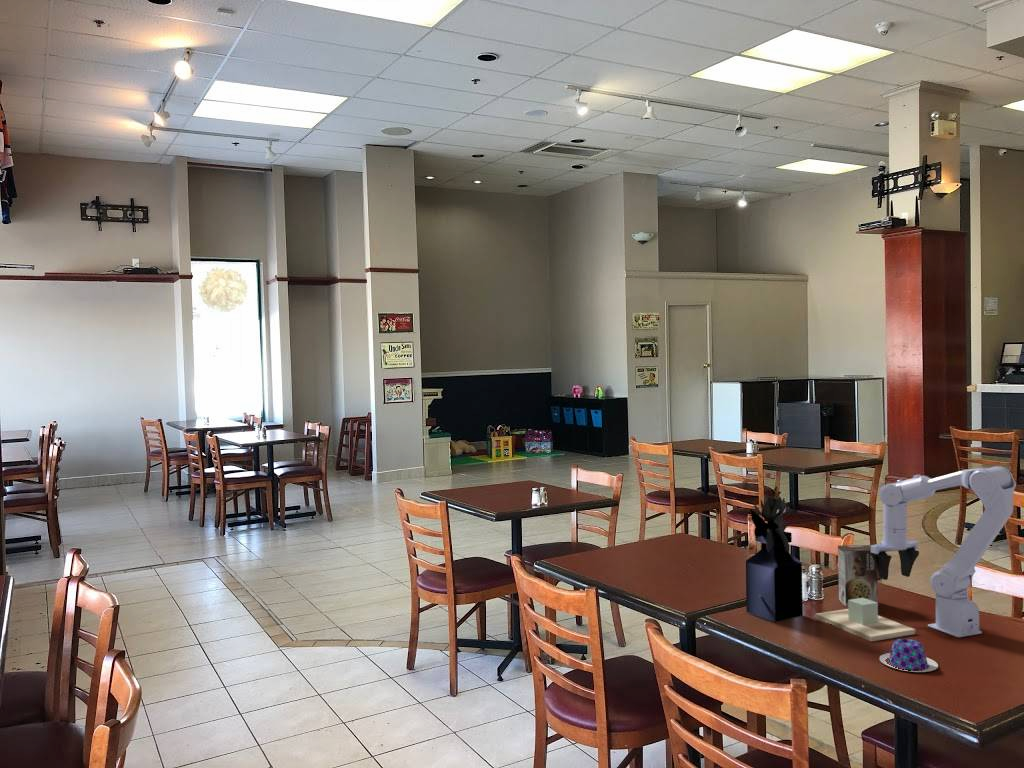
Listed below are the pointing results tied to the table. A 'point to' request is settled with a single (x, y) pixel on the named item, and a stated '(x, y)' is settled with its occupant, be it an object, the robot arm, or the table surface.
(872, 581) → the coffee box
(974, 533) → the robot arm
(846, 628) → the board
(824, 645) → the table surface
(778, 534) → the vase
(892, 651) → the purple patterned hat
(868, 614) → the pale green cube
